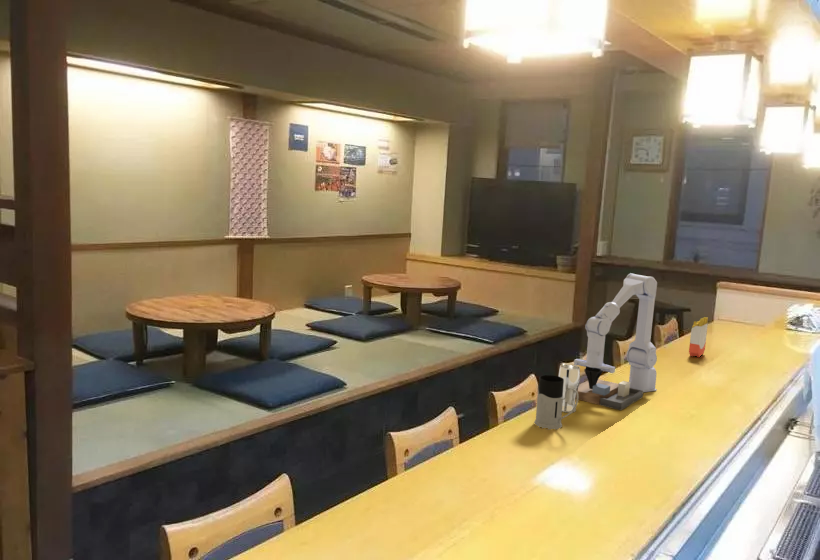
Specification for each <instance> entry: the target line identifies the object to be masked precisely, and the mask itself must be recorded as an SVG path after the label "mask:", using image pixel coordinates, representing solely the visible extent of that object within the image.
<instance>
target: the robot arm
mask: <svg viewBox="0 0 820 560" xmlns="http://www.w3.org/2000/svg"><path fill="white" fill-rule="evenodd" d="M622 283H623V286H622V287H621V288H620V290H619V291H618V293H617V294H616V295H615V297H614V299H612V300H611V301H609V302H606V303H604V305H603V307H602V308H601V309H600V310H599V311H598V312H597V313H596V314H595V316H591V317H590V318H588V320H587V321H586V323H585V325H584V326H585V327H584V329H585V330H586V336H587V345H586V347H587V348H586V358H585V359H580V358H576V359H574V360H573V365H576V366H579V367H580V366H581V367H585V368H584V373H585V376H586V378H587V381H588V382H589V389H593V385H596V383H597V381H598V379H600V377H601V375H602V374H603V372H607V373H610V374H614V373H615V372H616V370H615V369H616V366H612V365H609V364H605V363H604V354H605V344H606V343H605V342H606V335H607V334H608V333H609V332H610V329H611V326H612V323H613V321H614V320H615V319H617V317H618V316H619V315H620V312H621V310H620V308H621V307H623V305H624V304H625V303H626V302H627V301H629V299H631V298H632V297H633V296H636V297H637V298H638V299H639V300H638V301H639V302H638V310H637V319H636V328H635V329H636V330H635V339H634V340H633V341H631V342H630V343H629V345H628V348H627V351H626V360H627V362H628V365H630V367H629V368H630V369H629V378H628V382H630V388H633V389H638V390H642V391H643V393H648V392H654V391H657V390H658V389H656V385H657V384H656V383H657V370H656V368H655V367H654V366H655V365H656V363H657V361H658V357H657V356H658V355H657V347H656V346H655V345H654V344H653V343H652V342H651V338H652V337H651V336H652V328H653V319H654V310H655V301H656V298H657V290H658V289H657V288H658V287H657V286H658V282H657V280H656V279H655V277H654V276H646V275H641V274H635V273H631V272H630V273H628V274H627V275H626V277H625V278H624V279H623V282H622Z"/></svg>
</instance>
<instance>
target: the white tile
mask: <svg viewBox="0 0 820 560" xmlns="http://www.w3.org/2000/svg"><path fill="white" fill-rule="evenodd" d="M617 384H618V394H617V395H618V396H622V397H625V396H627V395H629V388H630V382H629V381H626V380H622V381H620V382H618V383H617Z"/></svg>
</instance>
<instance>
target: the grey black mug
mask: <svg viewBox="0 0 820 560" xmlns="http://www.w3.org/2000/svg"><path fill="white" fill-rule="evenodd" d="M563 384H564V379H563V378H561V377H559V375H551V374H545V375H540V376H539V379H538V386H537V398H536V412H535V413H536V414H535V420H534V421H533V424H534V423H535V424H536V425H537V426H539V427H538V428H540V427H542V428H541V429H543V428H548V429H547V430H551V429H555V430H559V428H560V429H561V427H562V428H563V424H562V420H563V419H565V418H566V417H568V416H569V415H571V414H573V413H574V412H573V411H574V410H575V408H576V409H577V406H578V403H579V400H578V398H579V396H578V392H577V391H576V390H575V389H573V388H569V389H567V390H566V392H565V398H563ZM570 389H572V390H574V391H575V392H576V395H577V399H576V400H575V407H574V408H573V410H572V411H571V412H570V413H567V414H565V415H564V416H563V415H562V414H563V412H562V404H563V400H564V399H566V397H567V392H568V391H569V390H570ZM572 412H573V413H572ZM535 424H534V425H535ZM536 425H535V426H536ZM537 426H536V427H537Z"/></svg>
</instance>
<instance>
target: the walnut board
mask: <svg viewBox="0 0 820 560" xmlns="http://www.w3.org/2000/svg"><path fill="white" fill-rule="evenodd" d="M598 383H600V384H604V385H608V386H610V393H608V394H607V395H605V396H604V395H600V394H596V393H592V390H593V389H589V382H588V380H586V381H583V382H582V383H579V387H578V391H577V392H578V396H579V398H578V401H581V402H582V401H583V402H587V403H590V404H595V405H599V406H601V405H600V398H605V399H607V398H609V397H611V396H612V395H614V394H616V393H618V383H617V382H612V381H608V380H605V379H604V380H603V379H600V378H599V379H598V381H597V383H596V384H598ZM576 400H577V395H576Z"/></svg>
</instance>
